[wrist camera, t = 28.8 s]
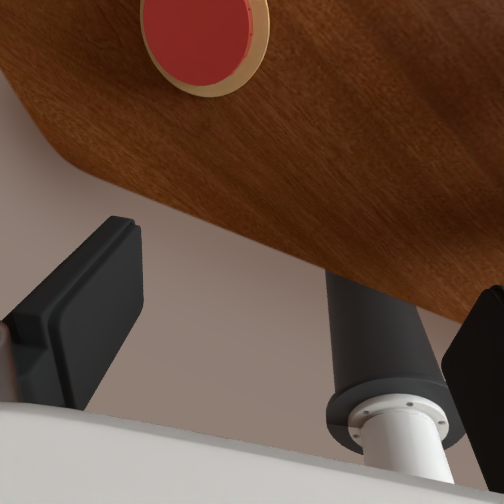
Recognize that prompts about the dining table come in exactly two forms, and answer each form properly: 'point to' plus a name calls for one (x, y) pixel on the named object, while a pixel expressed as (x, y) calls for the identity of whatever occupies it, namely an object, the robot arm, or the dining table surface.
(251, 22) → the lid
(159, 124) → the dining table surface
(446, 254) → the dining table surface
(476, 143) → the dining table surface
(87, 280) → the robot arm
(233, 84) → the coaster
